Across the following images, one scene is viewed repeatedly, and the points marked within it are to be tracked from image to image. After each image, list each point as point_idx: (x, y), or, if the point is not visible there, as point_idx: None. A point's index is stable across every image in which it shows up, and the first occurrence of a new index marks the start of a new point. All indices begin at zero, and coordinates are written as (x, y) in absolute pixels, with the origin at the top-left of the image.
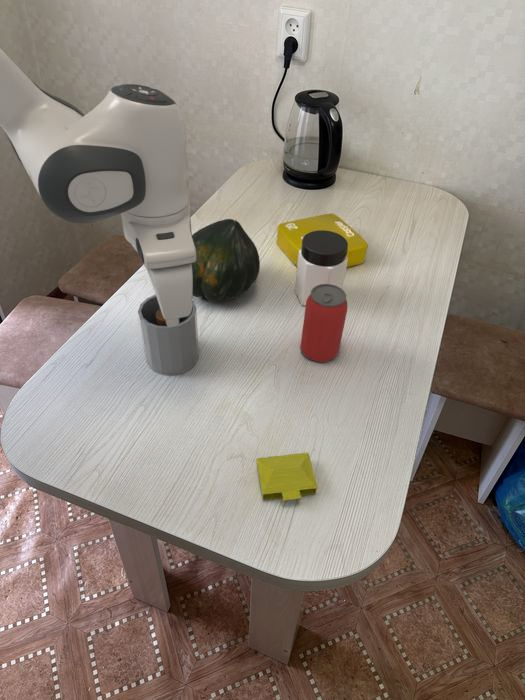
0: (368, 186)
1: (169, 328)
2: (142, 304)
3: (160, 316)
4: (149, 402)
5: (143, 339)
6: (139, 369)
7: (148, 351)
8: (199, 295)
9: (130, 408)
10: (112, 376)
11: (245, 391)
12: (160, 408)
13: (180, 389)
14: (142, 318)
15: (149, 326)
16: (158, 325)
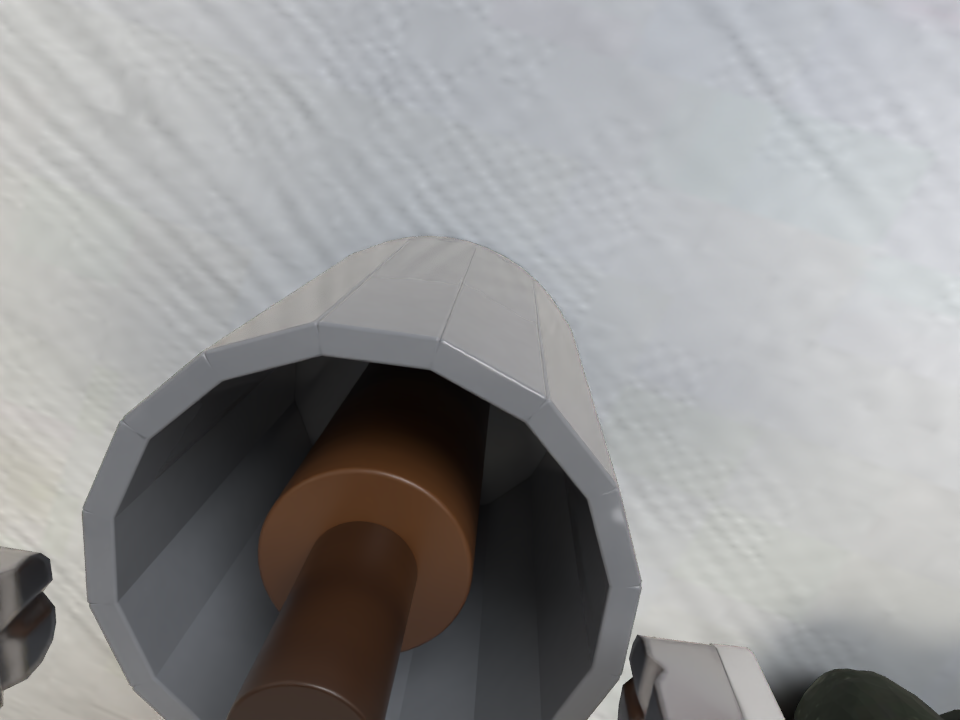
0: None
1: (83, 520)
2: (533, 417)
3: (339, 500)
4: (139, 151)
5: (376, 269)
6: (407, 179)
7: (348, 266)
8: (802, 702)
9: (124, 34)
10: (412, 2)
11: (82, 589)
12: (81, 193)
13: (182, 333)
14: (307, 344)
15: (183, 367)
16: (357, 431)
